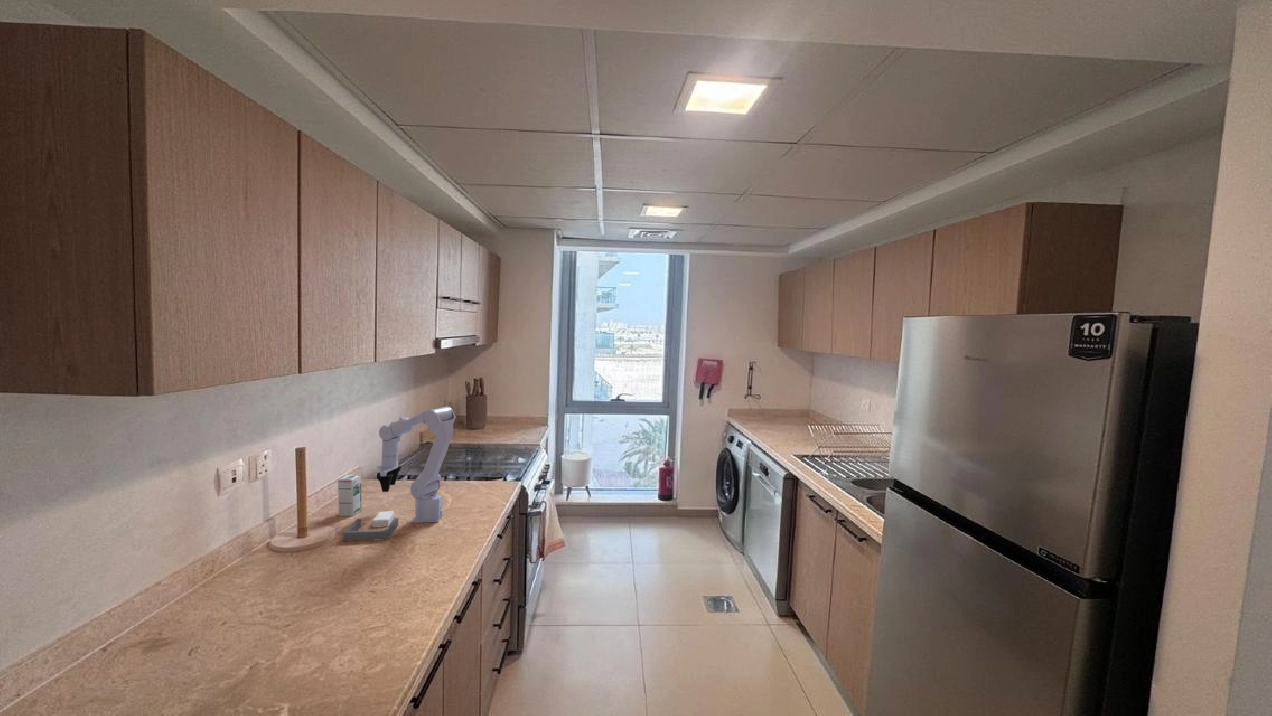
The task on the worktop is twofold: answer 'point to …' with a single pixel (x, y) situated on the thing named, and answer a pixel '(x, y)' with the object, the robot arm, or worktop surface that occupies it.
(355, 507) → the syrup box
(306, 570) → the worktop surface
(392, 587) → the worktop surface
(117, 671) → the worktop surface
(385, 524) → the soap
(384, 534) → the box
